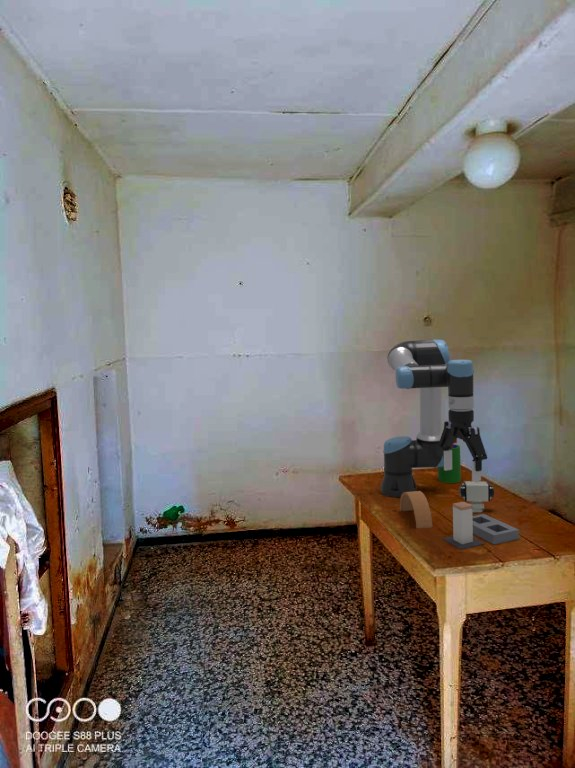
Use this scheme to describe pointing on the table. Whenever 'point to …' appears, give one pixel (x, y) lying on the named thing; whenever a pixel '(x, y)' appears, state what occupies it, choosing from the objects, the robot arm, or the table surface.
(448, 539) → the mat
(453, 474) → the green tall piece
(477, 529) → the grey boxy piece
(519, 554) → the table surface
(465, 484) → the pneumatic valve
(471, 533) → the plug
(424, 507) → the arch
